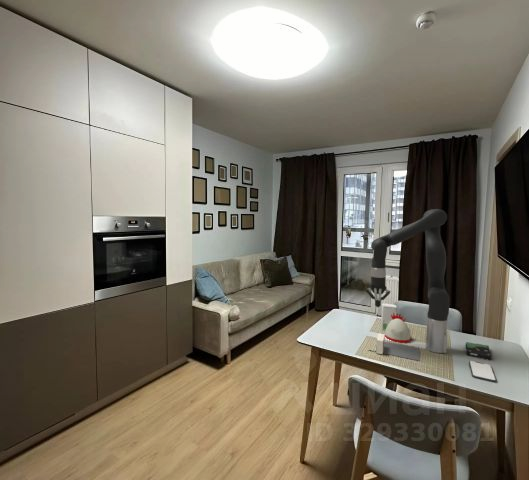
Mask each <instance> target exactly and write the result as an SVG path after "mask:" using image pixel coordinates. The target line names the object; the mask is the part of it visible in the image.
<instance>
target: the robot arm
mask: <svg viewBox="0 0 529 480" xmlns="http://www.w3.org/2000/svg"><path fill="white" fill-rule="evenodd" d="M447 220H448V214H447V213H446V211H445V210H443V209H439V208H435V209H434V208H432V209H428V210H427V211H425V212H424V214H423V215H422V218H420V219H418V220H417V221H414V222H412V223H410V224H407V225H404V226H402V227H399V228H397V229H395V230H393V231H391V232H389V233H388V234H386V235H383V236H382V235H381V236H380V237H378V238H376V239H374V240H372V241H371V244H370V247H371V249H372V250H373V252H372V253H373V255H372V258H371V269H370V286H369V287H368V288H366V289H365V292H366V293H367V295H368V296H369V297H370V299H373V300H374V306H375V307H376V308H380V307H381V306H382V301H384V300H385V299H386V298H387V297H388V296H389V295H390V294H391V290H389V289H388V288H387V286H386V284H387V283H386V281H387V277H386V276H387V273H386V272H387V271H386V267H387V266H386V263H387V262H386V259H387V254H388V248H390V247H392V246H395V245H398V244H400V243H402V242H405V241H407V240H409V239H410V238H412V237H414V236H416V235H418V234H421V233H424V235H425V236H424V237H425V262H426V270H427V275H428V286H427V287H428V289H427V298H428V310H427V315H426V316H427V317H426V336H425V349H427V350H428V351H430V352H433V353H438V354H447V343H448V335H447V331H448V318H449V317H448V316H449V313H450V301H451V300H450V296H449V294H448V292H447V291H446V286H445V285H446V284H445V273H446V268H447V252H446V248H445V245H444V242H443V239H442V236H441V226H442V225H444V224H445V223H446V221H447ZM383 294H384V295H383ZM382 295H383V296H382Z"/></svg>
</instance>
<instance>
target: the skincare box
mask: <svg viewBox="0 0 529 480" xmlns="http://www.w3.org/2000/svg"><path fill="white" fill-rule="evenodd" d="M381 306H382V307H381V320H380V327H381V330H382V331H385V330H386V328H387V324H388V323H389V322H390V321H391V320H393V319H392V317H391V315H392V316H393V313H394V314H395V316H396V315H397V313H398V312H397V309H398V306H397V305H396V304H391V303H385V302H381Z"/></svg>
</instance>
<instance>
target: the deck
mask: <svg viewBox="0 0 529 480" xmlns="http://www.w3.org/2000/svg"><path fill="white" fill-rule="evenodd" d="M385 339H386V338H385V333H378V334H377V338H376V340H377V346H376V352H375V353H376V354H379V355H384V354H383V350H384V343H385V342H386V340H385Z"/></svg>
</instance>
